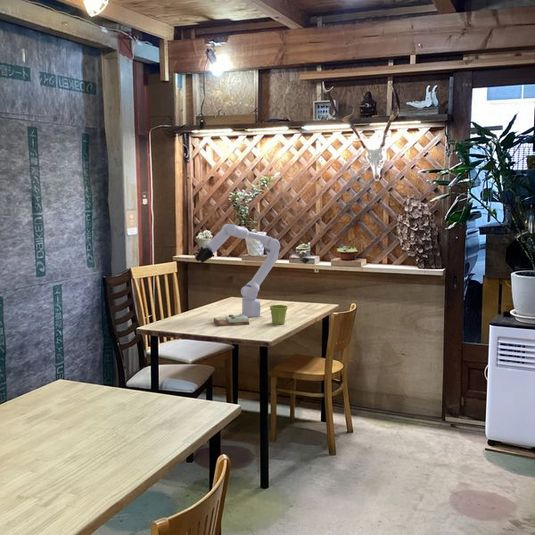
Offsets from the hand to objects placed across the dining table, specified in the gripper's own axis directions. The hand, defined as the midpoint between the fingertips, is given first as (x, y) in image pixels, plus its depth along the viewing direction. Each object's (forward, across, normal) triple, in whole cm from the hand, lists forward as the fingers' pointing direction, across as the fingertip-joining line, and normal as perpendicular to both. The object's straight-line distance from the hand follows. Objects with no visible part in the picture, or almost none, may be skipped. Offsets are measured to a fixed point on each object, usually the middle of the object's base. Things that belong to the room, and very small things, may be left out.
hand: (198, 260), depth 314 cm
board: (+12, +16, +30) cm, 36 cm away
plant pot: (-4, +24, +46) cm, 52 cm away
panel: (+9, +16, +31) cm, 37 cm away
